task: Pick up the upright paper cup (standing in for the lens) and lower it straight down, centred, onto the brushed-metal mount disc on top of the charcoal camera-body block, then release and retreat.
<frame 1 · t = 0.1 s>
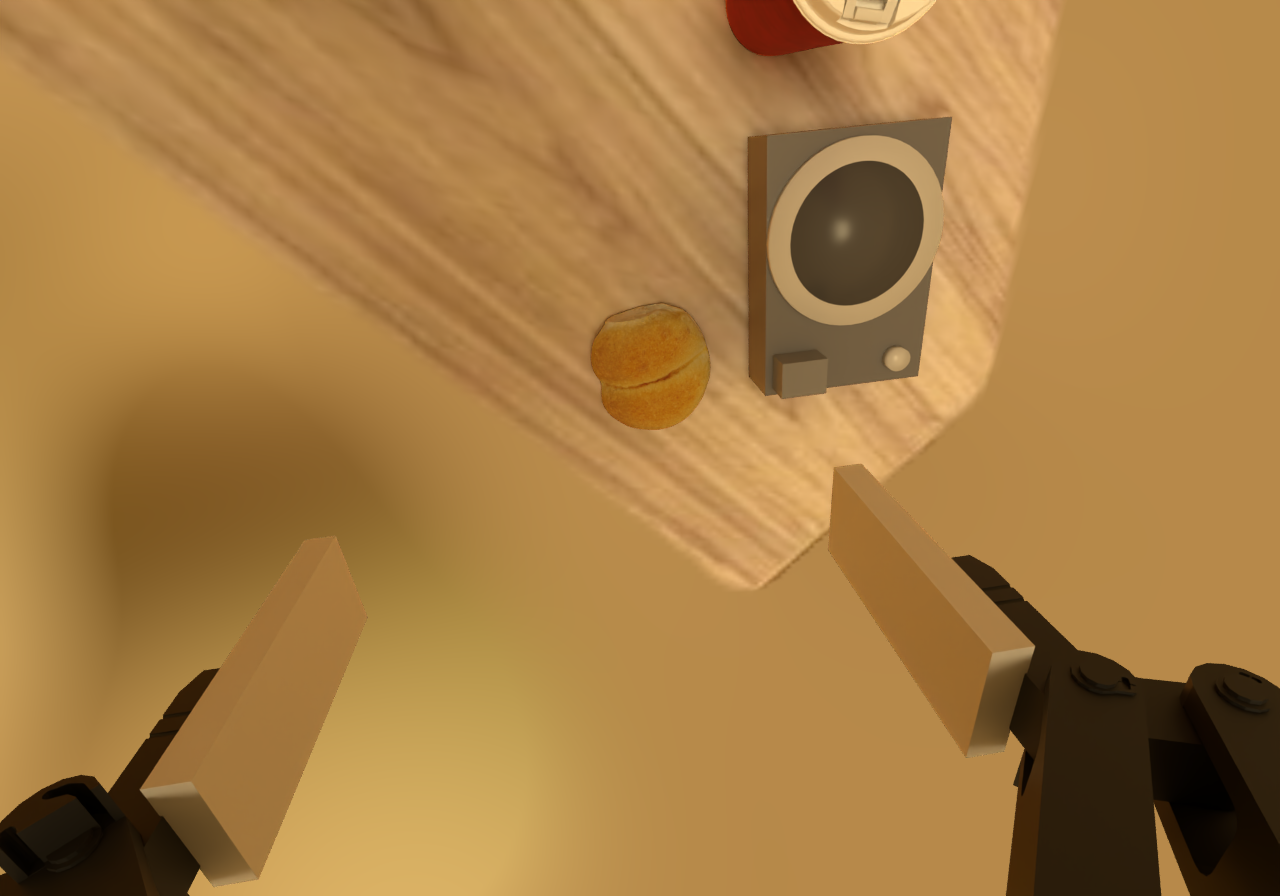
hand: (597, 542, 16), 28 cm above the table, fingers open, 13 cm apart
bread roll: (647, 360, 44), on the table
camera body: (825, 258, 41), on the table
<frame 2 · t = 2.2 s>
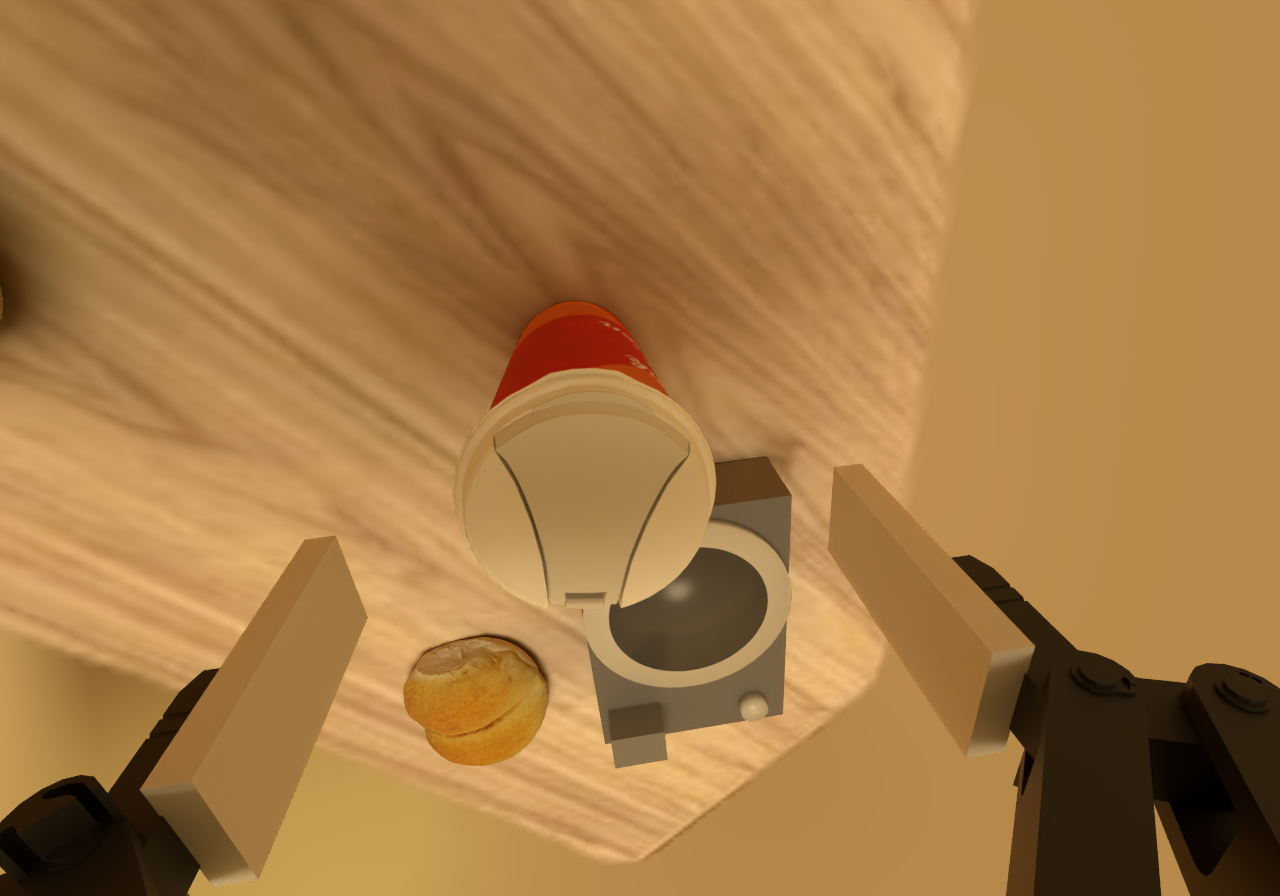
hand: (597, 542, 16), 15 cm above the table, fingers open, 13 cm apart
bread roll: (479, 680, 38), on the table
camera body: (675, 584, 36), on the table
paper cup: (576, 354, 29), on the table
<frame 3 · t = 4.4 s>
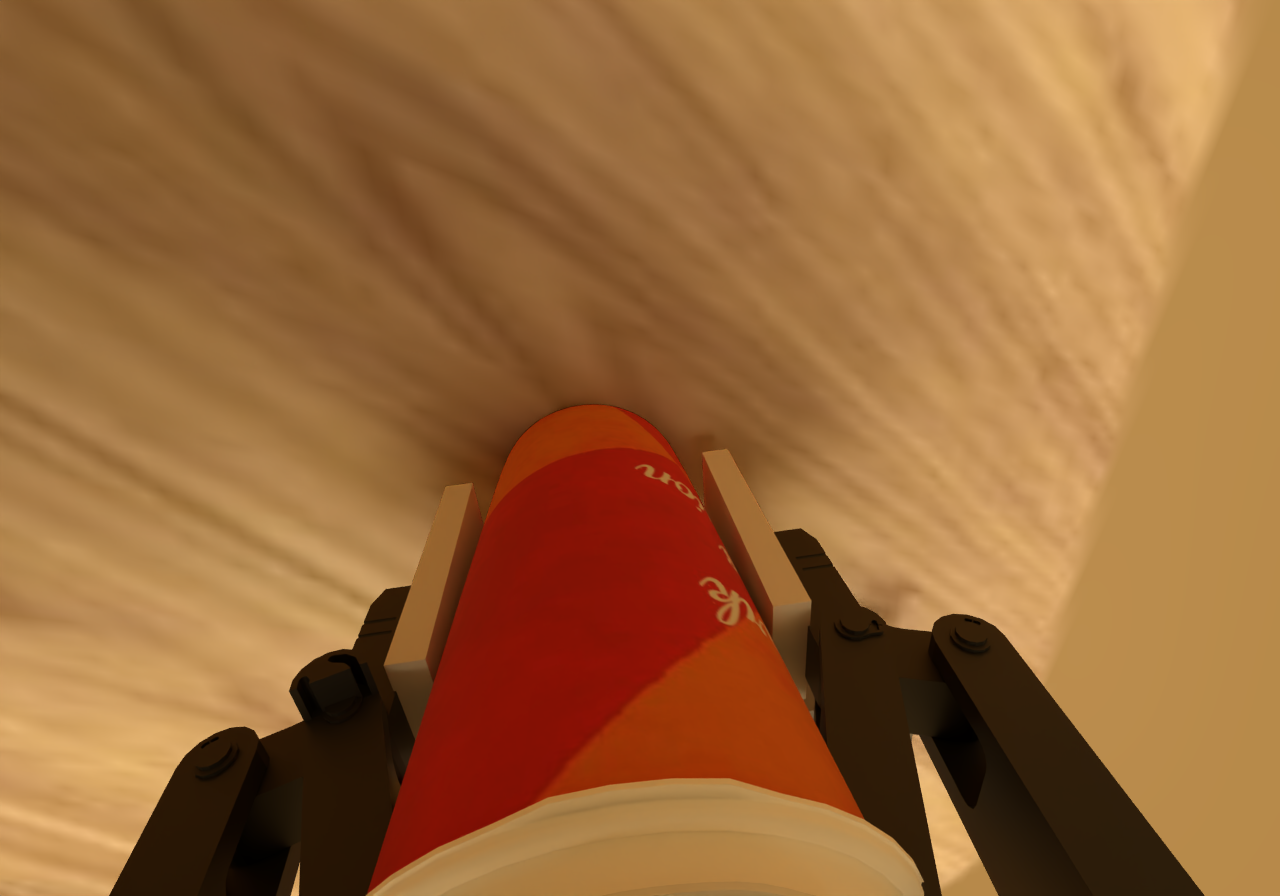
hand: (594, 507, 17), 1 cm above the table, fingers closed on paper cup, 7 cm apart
paper cup: (591, 479, 19), on the table, touching gripper
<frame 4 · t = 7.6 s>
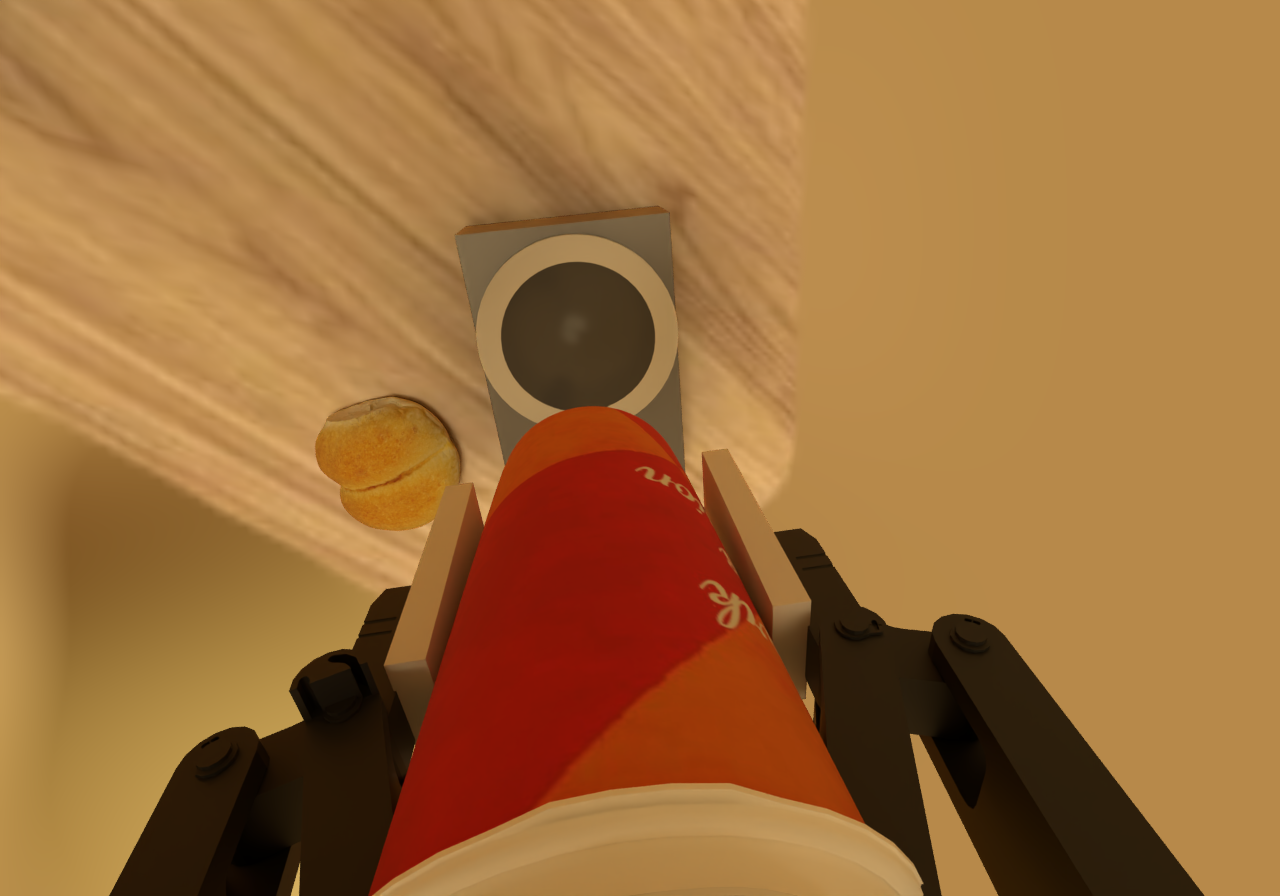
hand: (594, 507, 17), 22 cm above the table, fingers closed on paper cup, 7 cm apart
bread roll: (395, 454, 40), on the table
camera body: (581, 350, 38), on the table
paper cup: (592, 480, 19), point 20 cm above the table, touching gripper
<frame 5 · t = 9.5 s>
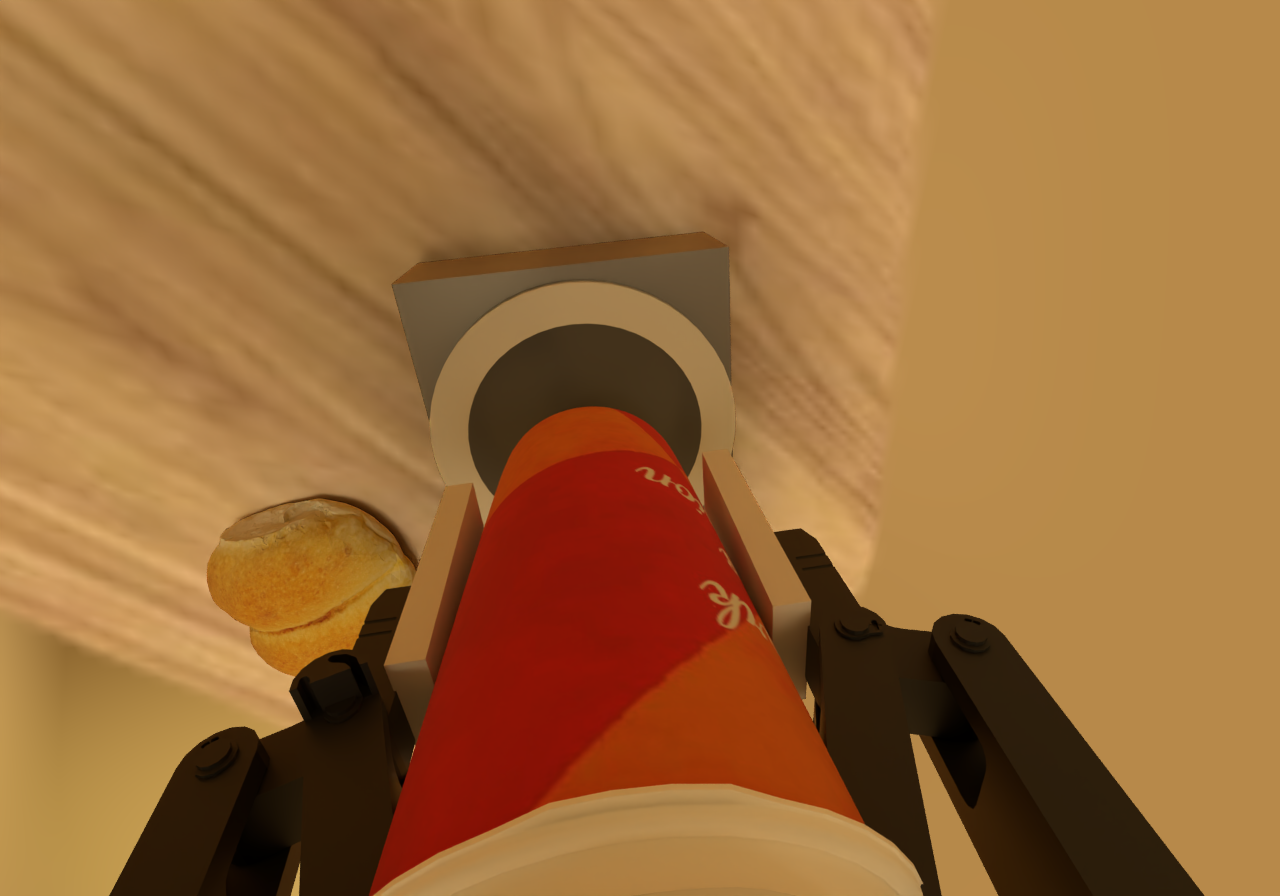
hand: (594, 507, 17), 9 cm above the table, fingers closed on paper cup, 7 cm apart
bread roll: (329, 569, 29), on the table
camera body: (589, 433, 27), on the table
paper cup: (592, 481, 19), point 8 cm above the table, touching gripper
when the fingers open (7 cm above the table, at t = 10.8 s): paper cup drops 1 cm, resting on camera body.
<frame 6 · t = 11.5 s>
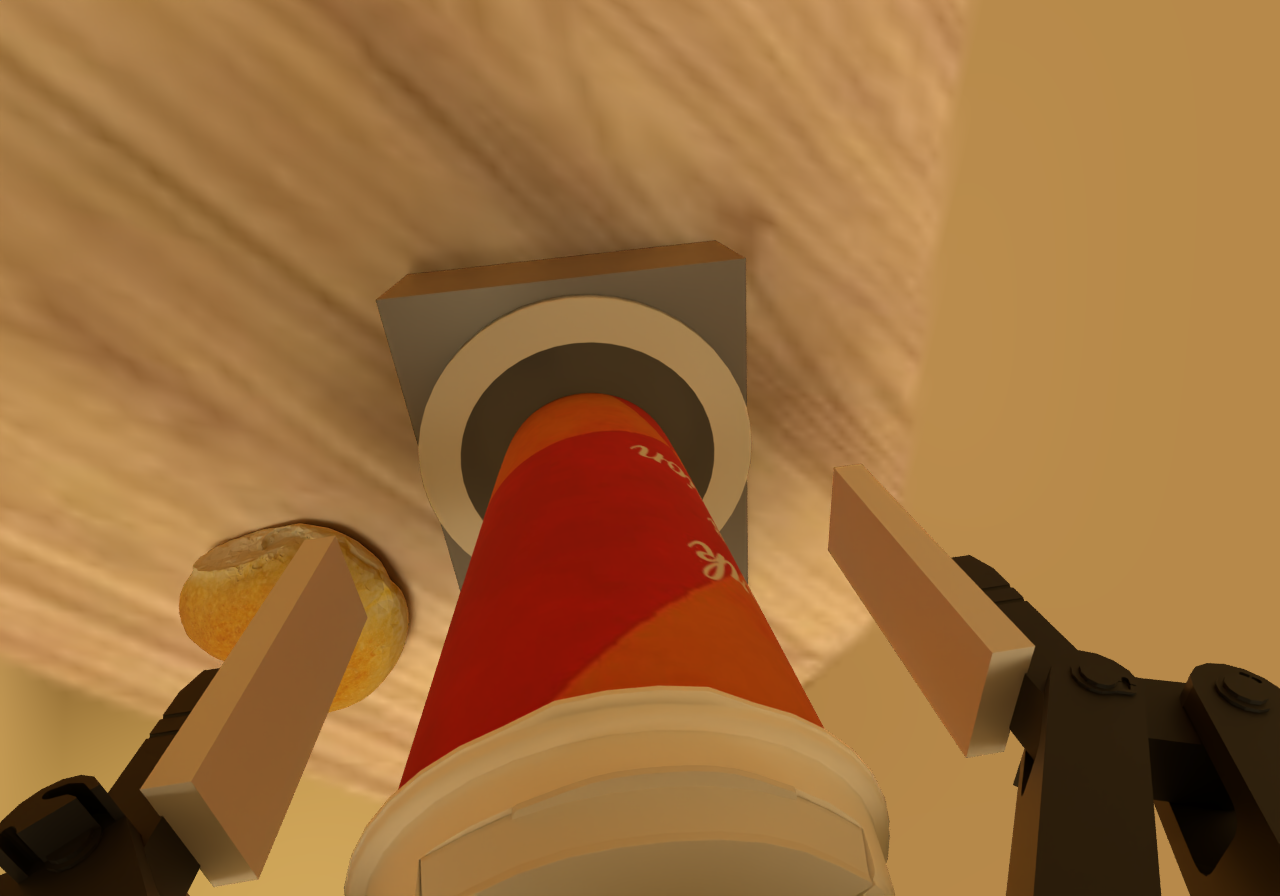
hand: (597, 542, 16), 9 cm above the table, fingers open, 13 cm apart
bread roll: (313, 596, 27), on the table
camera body: (592, 454, 25), on the table
paper cup: (589, 464, 20), point 4 cm above the table, touching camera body
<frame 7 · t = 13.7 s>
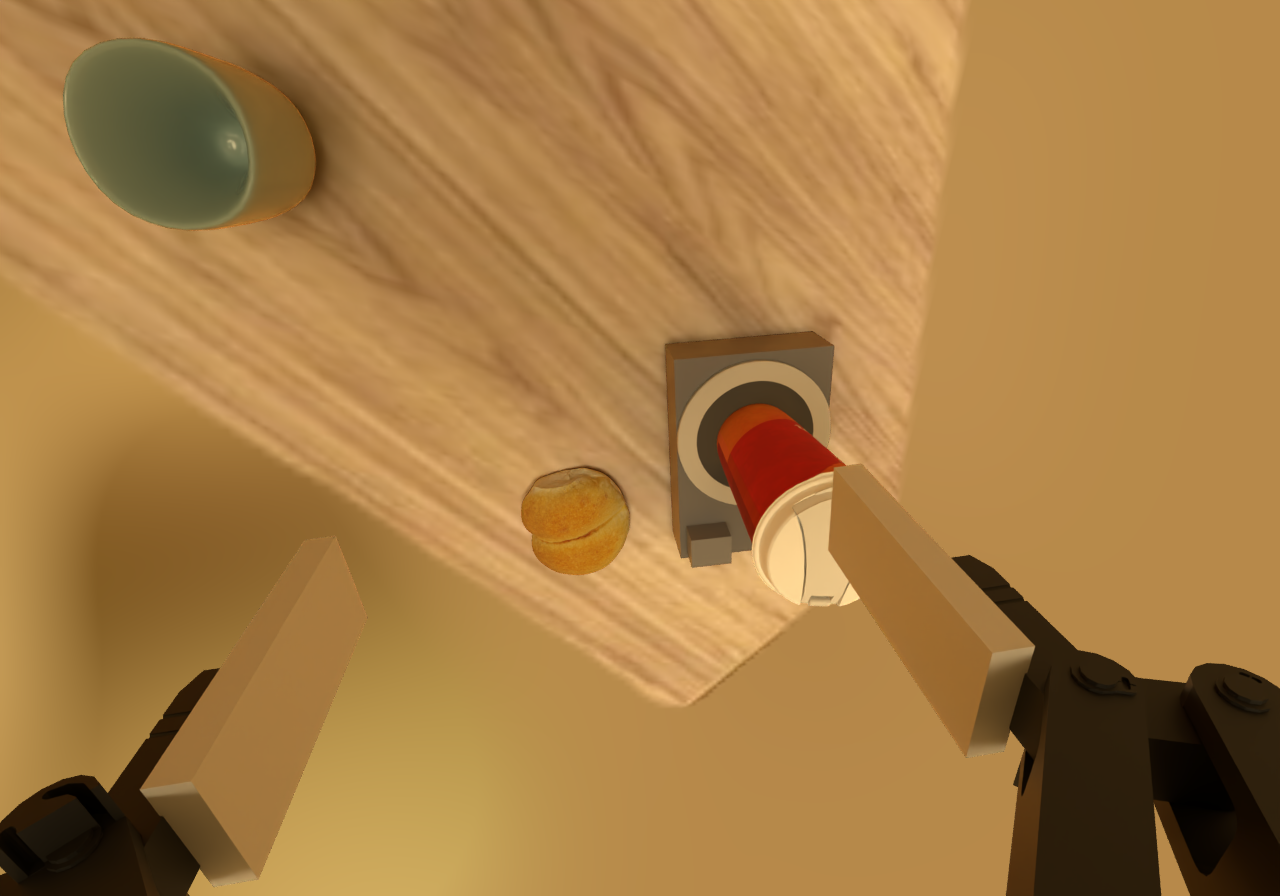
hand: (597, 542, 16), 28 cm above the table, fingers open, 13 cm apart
bread roll: (574, 511, 49), on the table
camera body: (738, 437, 47), on the table
cup: (266, 148, 36), on the table
paper cup: (754, 437, 42), point 4 cm above the table, touching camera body
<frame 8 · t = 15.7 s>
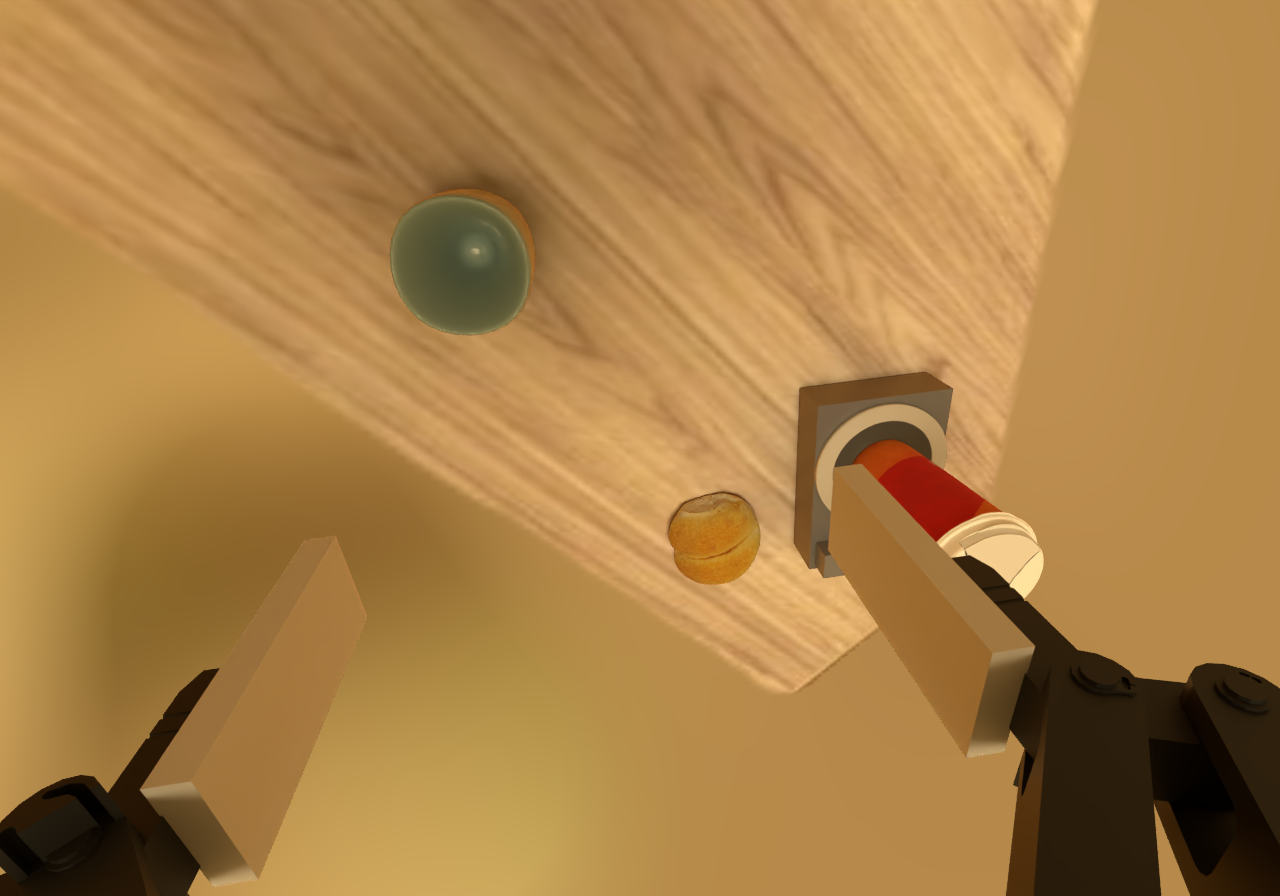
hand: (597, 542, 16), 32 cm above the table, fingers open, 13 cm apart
bread roll: (710, 529, 56), on the table
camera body: (855, 462, 54), on the table
cup: (482, 243, 42), on the table
paper cup: (880, 467, 49), point 4 cm above the table, touching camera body
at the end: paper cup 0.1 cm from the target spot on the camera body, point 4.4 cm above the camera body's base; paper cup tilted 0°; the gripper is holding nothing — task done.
